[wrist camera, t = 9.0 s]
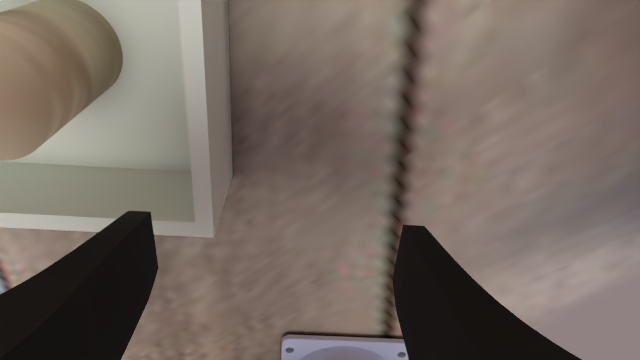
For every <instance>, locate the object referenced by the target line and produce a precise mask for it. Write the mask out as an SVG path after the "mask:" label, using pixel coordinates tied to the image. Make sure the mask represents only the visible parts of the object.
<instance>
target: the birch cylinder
mask: <svg viewBox="0 0 640 360" xmlns="http://www.w3.org/2000/svg"><path fill="white" fill-rule="evenodd" d="M122 63H123V54H122V48H121V44H120V41H119V39H118V37H117V34H116V33H115V31H114V29H113V28H112V26H111V25H110V24H109V22H108V21H107V20H106V19H105V18H104V17H103V16H102V15H101V14H100V13H99V12H98V11H97V10H95V9H94V8H92V7H91V6H89V5H87V4H85V3H84V2H81V1H79V0H39V1H35V2H32V3H29V4H26V5H22V6H19V7H16V8H13V9H9V10H6V11H3V12H0V161H7V160H15V159H19V158H22V157H25V156H27V155H29V154H31V153H32V152H34V151H35V150H36V149H38V148H39V147H40V146H41V145H42V144H44V143H45V142H46V141H47V140H48V139H49V138H51V137H52V136H53V135H54V134H55V133H57V132H58V131H59V130H60V129H61V128H63V127H64V126H65V125H66V124H67V123H68V122H70V121H71V120H72V119H73V118H74V117H76V116H77V115H78V114H79V113H80V112H82V111H83V110H84V109H85V108H86V107H87V106H89V105H90V104H91V103H92V102H93V101H95V100H96V99H97V98H98V97H99V96H101V95H102V94H103V93H104V92H105V91H106V90H108V89H109V88H110V87H111V86H112V85H113V84H114V83H115V82H116V80H117V79H118V77H119V75H120V72H121V69H122Z"/></svg>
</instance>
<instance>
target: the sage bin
mask: <svg viewBox="0 0 640 360" xmlns="http://www.w3.org/2000/svg"><path fill="white" fill-rule="evenodd" d="M35 1H39V0H0V12H3V11H6V10H9V9H13V8H16V7H19V6H22V5H26V4H29V3H32V2H35ZM79 1H81V2H84V3H85V4H87V5H89V6H91V7H92V8H94V9H95V10H97V11H98V12H99V13H100V14H101V15H102V16H103V17H104V18H105V19H106V20H107V21H108V22H109V24H110V25H111V26H112V28H113V29H114V31H115V33H116V34H117V37H118V39H119V41H120V44H121V48H122V54H123V63H122V69H121V72H120V75H119V77H118V79H117V80H116V82H115V83H114V84H113V85H112V86H111V87H110V88H109V89H108V90H106V91H105V92H104V93H103V94H102V95H101V96H99V97H98V98H97V99H96V100H95V101H93V102H92V103H91V104H90V105H89V106H87V107H86V108H85V109H84V110H83V111H82V112H80V113H79V114H78V115H77V116H76V117H74V118H73V119H72V120H71V121H70V122H68V123H67V124H66V125H65V126H64V127H63V128H61V129H60V130H59V131H58V132H57V133H55V134H54V135H53V136H52V137H51V138H49V139H48V140H47V141H46V142H45V143H44V144H42V145H41V146H40V147H39V148H38V149H36V150H35V151H34V152H32V153H31V154H29V155H27V156H25V157H22V158H19V159H15V160H7V161H0V227H9V228H29V229H49V230H69V231H89V232H100V231H101V230H102V229H104V228H105V227H107V226H108V225H109V224H111V223H112V222H113V221H115V220H116V219H117V218H119V217H120V216H122V215H123V214H124V213H126V212H127V211H147V212H151V218H152V225H153V233H154V235H168V236H188V237H208V238H214V236H215V232H216V229H217V226H218V223H219V220H220V216H221V213H222V210H223V207H224V204H225V200H226V197H227V194H228V191H229V187H230V184H231V181H232V178H233V164H232V126H231V89H230V52H229V15H228V0H79Z"/></svg>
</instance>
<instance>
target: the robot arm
mask: <svg viewBox="0 0 640 360" xmlns="http://www.w3.org/2000/svg"><path fill="white" fill-rule="evenodd" d="M157 270H158V262H157V255H156V247H155V240H154V233H153V225H152V218H151V212H147V211H127V212H126V213H124V214H123V215H122V216H120V217H119V218H117V219H116V220H115V221H113V222H112V223H111V224H109V225H108V226H107V227H105V228H104V229H102V230H101V231H100V232H98V233H97V234H96V235H94V236H93V237H92V238H90V239H89V240H87V241H86V242H85V243H83V244H82V245H80V246H79V247H78V248H76V249H75V250H73V251H72V252H70V253H69V254H67V255H66V256H64V257H63V258H61V259H60V260H58V261H57V262H55V263H54V264H52V265H51V266H49V267H48V268H46V269H44V270H43V271H41V272H40V273H38V274H36V275H35V276H33V277H31V278H30V279H28V280H26V281H24V282H23V283H21V284H19V285H17V286H15V287H14V288H12V289H10V290H8V291H6V292H4V293H2V294H1V295H0V360H121V358H122V356H123V354H124V352H125V350H126V347H127V345H128V343H129V341H130V339H131V337H132V335H133V332H134V330H135V328H136V326H137V324H138V322H139V320H140V317H141V315H142V313H143V311H144V309H145V306H146V304H147V302H148V300H149V297H150V294H151V290H152V287H153V284H154V281H155V277H156V274H157ZM393 288H394V297H395V304H396V311H397V315H398V319H399V323H400V327H401V331H402V335H403V339H388V338H363V337H339V336H315V335H286V336H284V337H283V338H282V349H281V360H408V358H409V360H581V359H580V358H578V357H576V356H575V355H573V354H571V353H569V352H568V351H566V350H565V349H563V348H561V347H560V346H558V345H556V344H555V343H553V342H552V341H550V340H549V339H547V338H546V337H544V336H543V335H542V334H540V333H539V332H537V331H536V330H534V329H533V328H531V327H530V326H528V325H527V324H526V323H524V322H523V321H522V320H520V319H519V318H518V317H516V316H515V315H514V314H513V313H511V312H510V311H509V310H508V309H506V308H505V307H504V306H503V305H501V304H500V303H499V302H498V301H497V300H495V299H494V298H493V297H492V296H491V295H490V294H489V293H488V292H486V291H485V290H484V289H483V288H482V287H481V286H480V285H479V284H478V283H477V282H476V281H475V280H474V279H473V278H472V277H471V276H470V275H469V274H468V273H467V272H466V271H465V270H464V269H463V268H462V267H461V266H460V265H459V264H458V263H457V262H456V261H455V260H454V259H453V258H452V257H451V256H450V254H449V253H448V252H447V251H446V250H445V249H444V248H443V247H442V246H441V244H440V243H439V242H438V241H437V240H436V239H435V238H434V237H433V235H432V234H431V233H430V232H429V231H428V230H427V229H426V228H425V227H424V226H414V225H403V228H402V233H401V239H400V244H399V249H398V254H397V259H396V264H395V269H394V274H393ZM289 347H290V348H289Z"/></svg>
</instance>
